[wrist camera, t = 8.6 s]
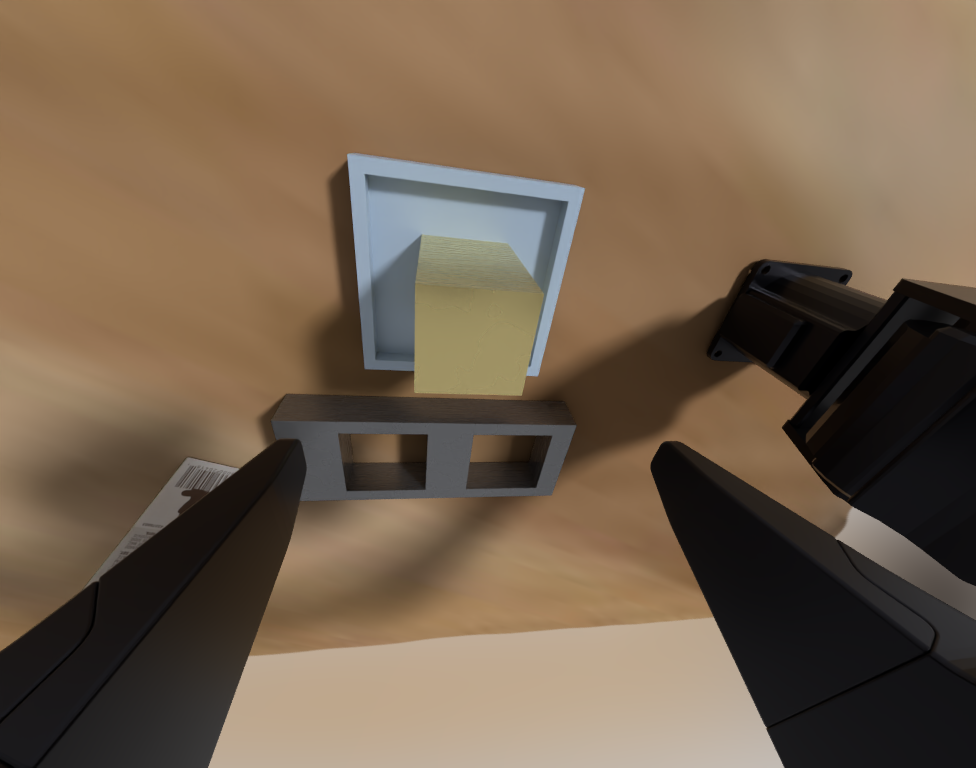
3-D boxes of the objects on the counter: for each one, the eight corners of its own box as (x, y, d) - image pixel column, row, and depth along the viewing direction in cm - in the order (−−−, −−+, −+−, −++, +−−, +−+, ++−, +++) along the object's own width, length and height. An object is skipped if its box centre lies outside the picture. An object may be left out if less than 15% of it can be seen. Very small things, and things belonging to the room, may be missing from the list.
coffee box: (261, 544, 29) (121, 869, 16) (169, 530, 27) (-81, 898, 14) (287, 476, 25) (129, 837, 12) (182, 452, 23) (-156, 869, 10)
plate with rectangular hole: (564, 401, 24) (576, 425, 22) (543, 469, 28) (551, 495, 26) (286, 393, 21) (270, 420, 19) (305, 471, 25) (293, 501, 23)
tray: (574, 184, 17) (585, 188, 15) (532, 363, 22) (537, 376, 21) (354, 152, 15) (347, 153, 14) (368, 355, 20) (364, 368, 19)
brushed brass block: (496, 321, 20) (521, 395, 14) (420, 316, 19) (414, 392, 13) (507, 243, 17) (544, 293, 12) (421, 234, 16) (415, 283, 11)
